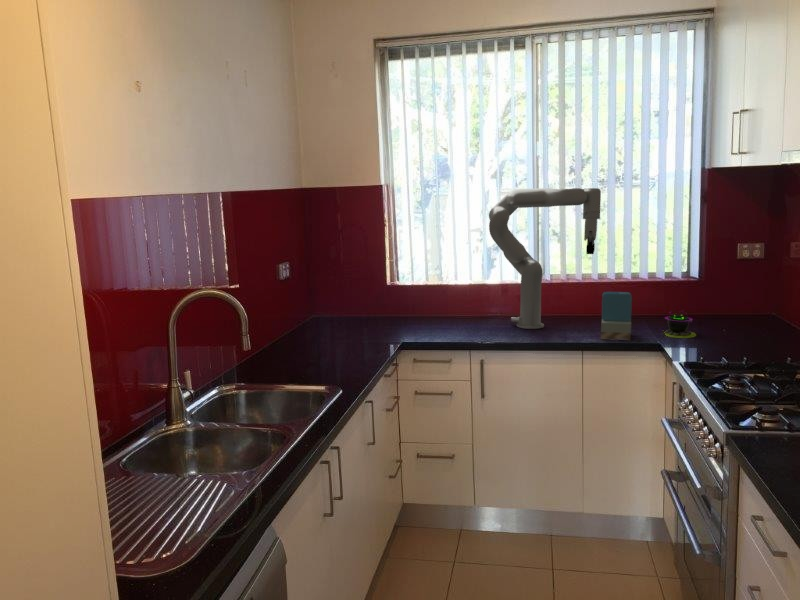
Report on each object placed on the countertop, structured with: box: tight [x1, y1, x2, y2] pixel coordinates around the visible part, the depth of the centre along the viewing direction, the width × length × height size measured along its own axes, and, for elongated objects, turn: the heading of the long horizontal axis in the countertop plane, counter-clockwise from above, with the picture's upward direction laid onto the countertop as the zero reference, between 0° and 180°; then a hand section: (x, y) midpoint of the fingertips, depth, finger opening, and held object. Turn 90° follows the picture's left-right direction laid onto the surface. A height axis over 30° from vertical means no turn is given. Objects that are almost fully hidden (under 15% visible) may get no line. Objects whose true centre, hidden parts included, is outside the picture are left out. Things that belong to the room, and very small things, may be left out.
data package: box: [601, 291, 633, 321], centre depth 286 cm, size 12×4×12 cm, turn 74°
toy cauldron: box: [664, 309, 697, 339], centre depth 291 cm, size 15×15×11 cm
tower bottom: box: [600, 331, 632, 341], centre depth 288 cm, size 12×13×4 cm
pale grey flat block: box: [600, 318, 632, 333], centre depth 288 cm, size 12×13×4 cm
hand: (590, 252), depth 306 cm, fingers open, 9 cm apart
